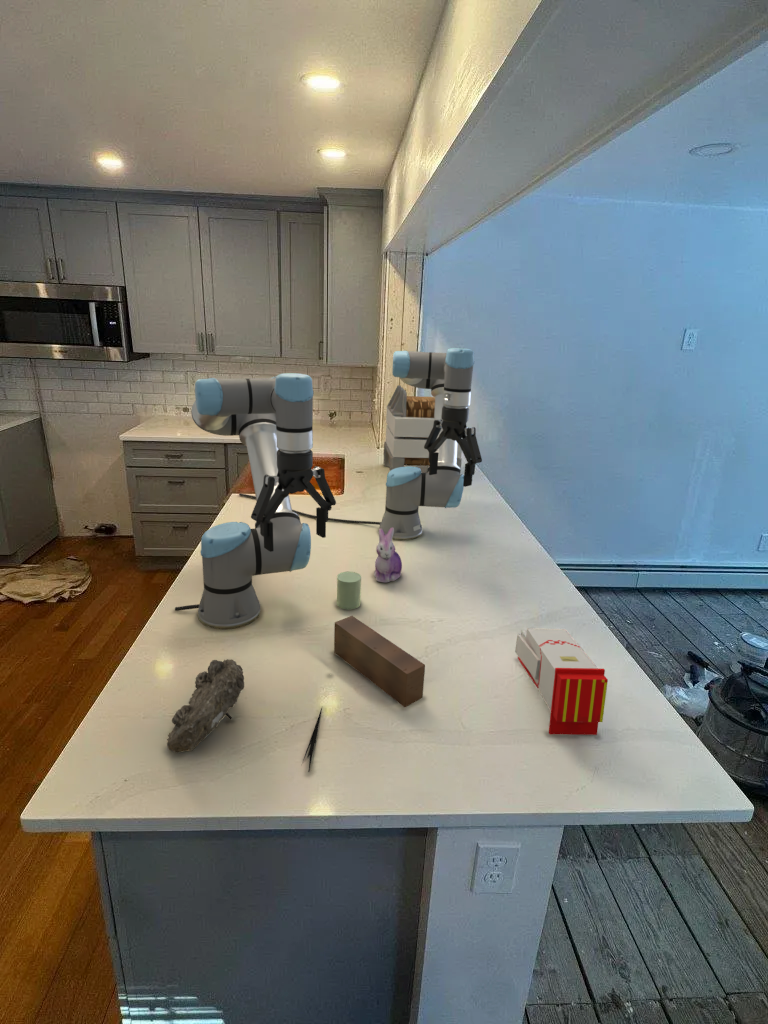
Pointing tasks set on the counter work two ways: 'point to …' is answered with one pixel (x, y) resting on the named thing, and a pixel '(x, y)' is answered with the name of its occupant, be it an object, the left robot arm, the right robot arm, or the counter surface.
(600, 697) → the toy
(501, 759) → the counter surface
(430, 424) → the transformer
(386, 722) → the counter surface
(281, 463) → the left robot arm
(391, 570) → the figurine
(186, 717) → the fossil
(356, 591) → the pale green cylinder
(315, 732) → the feather
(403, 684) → the walnut box
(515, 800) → the counter surface
